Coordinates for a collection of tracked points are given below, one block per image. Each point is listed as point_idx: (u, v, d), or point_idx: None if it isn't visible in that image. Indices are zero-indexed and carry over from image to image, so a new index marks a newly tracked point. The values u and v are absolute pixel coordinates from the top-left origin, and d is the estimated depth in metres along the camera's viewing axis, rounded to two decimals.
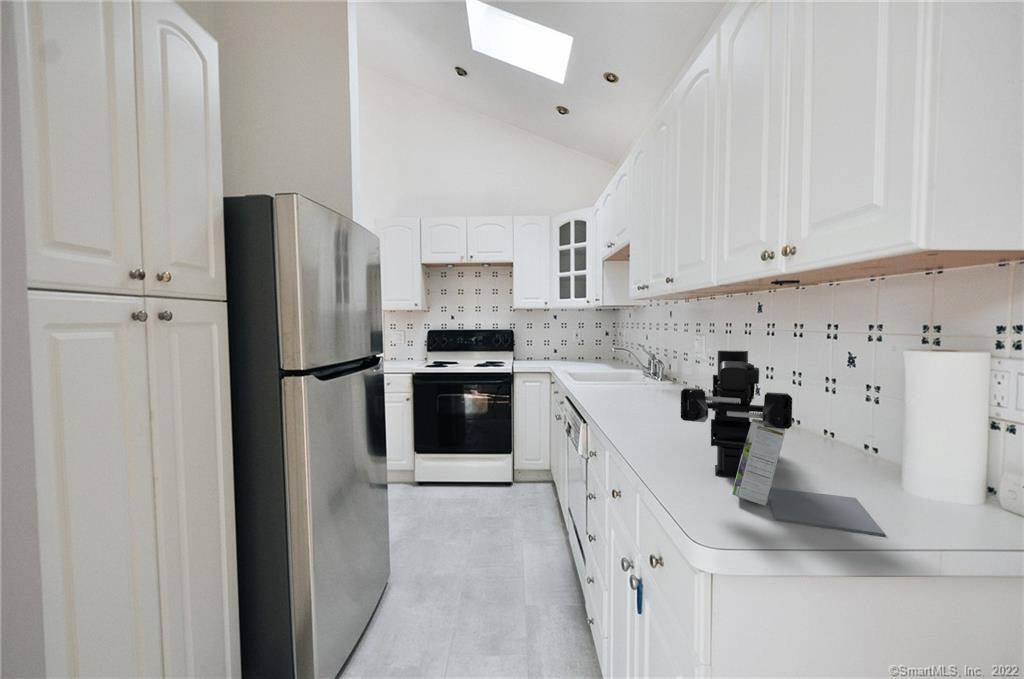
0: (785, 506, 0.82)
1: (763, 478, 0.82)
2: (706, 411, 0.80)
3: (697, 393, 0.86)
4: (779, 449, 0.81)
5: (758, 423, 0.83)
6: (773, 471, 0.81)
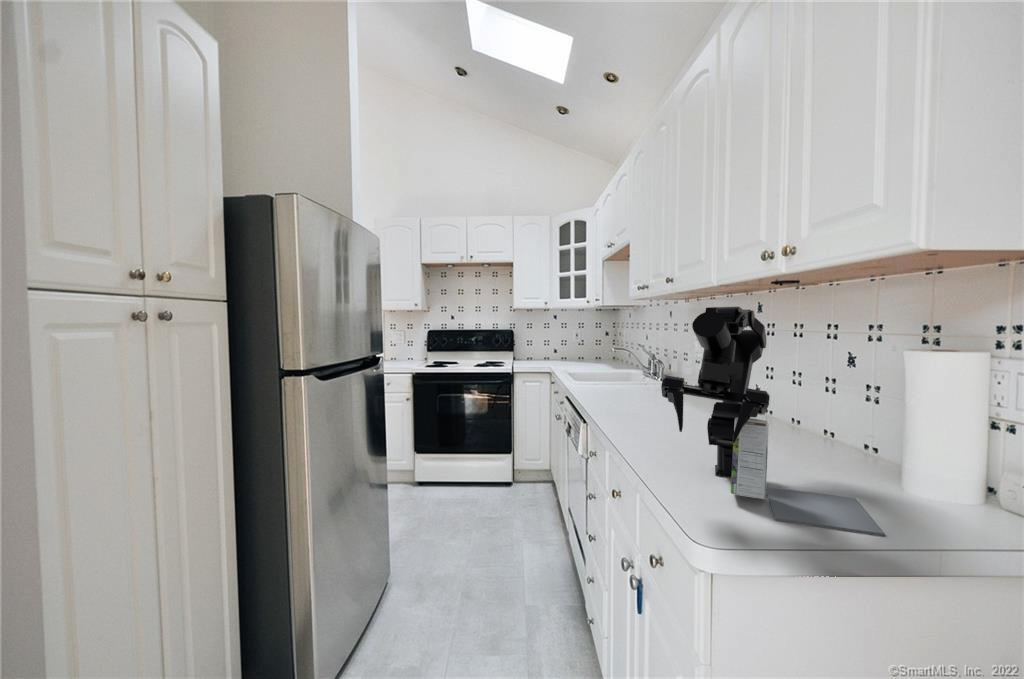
0: (785, 506, 0.82)
1: (756, 471, 0.83)
2: (680, 430, 0.86)
3: (675, 394, 0.87)
4: (765, 440, 0.84)
5: None
6: (764, 462, 0.83)
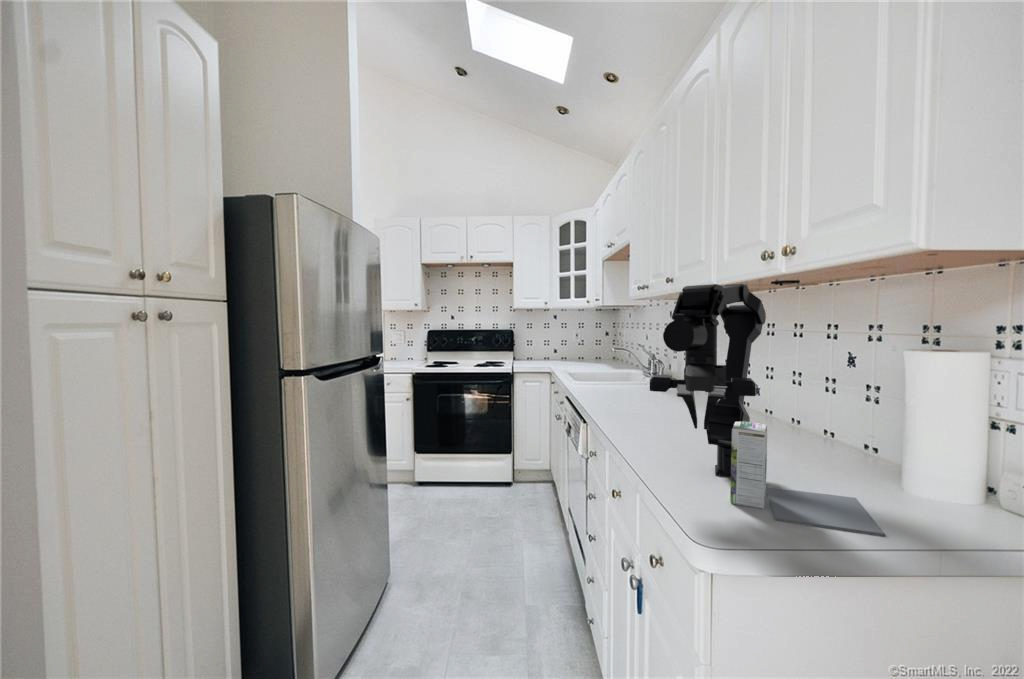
0: (785, 506, 0.82)
1: (755, 483, 0.82)
2: (695, 428, 0.89)
3: (685, 397, 0.87)
4: (764, 451, 0.81)
5: (738, 429, 0.83)
6: (763, 473, 0.81)
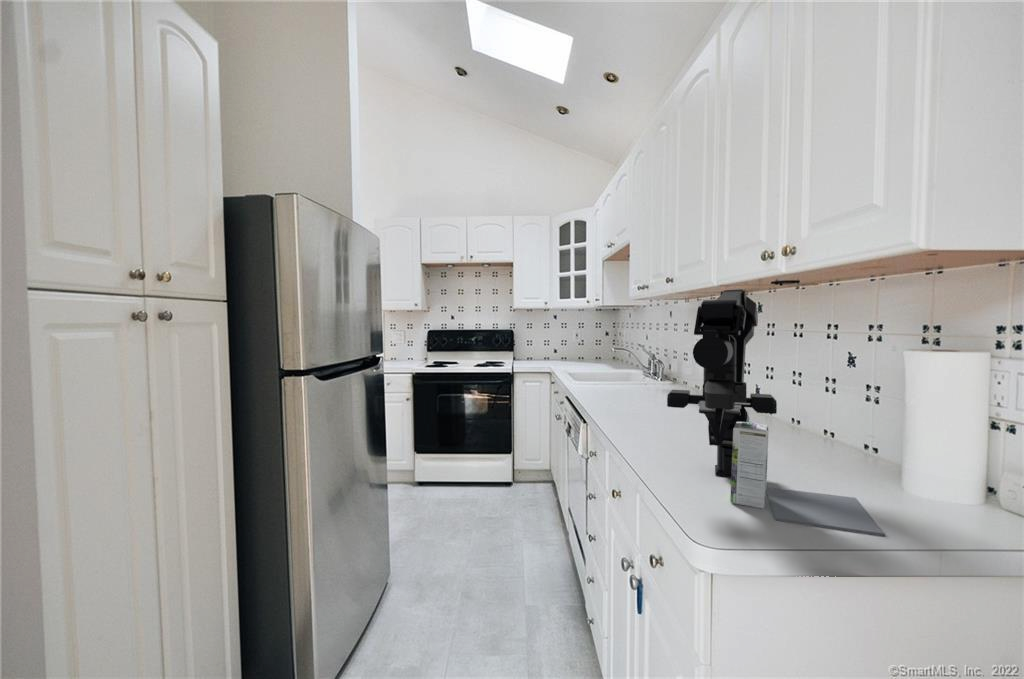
0: (785, 506, 0.82)
1: (756, 482, 0.82)
2: (717, 445, 0.87)
3: (707, 414, 0.86)
4: (765, 451, 0.81)
5: (740, 428, 0.83)
6: (764, 473, 0.81)
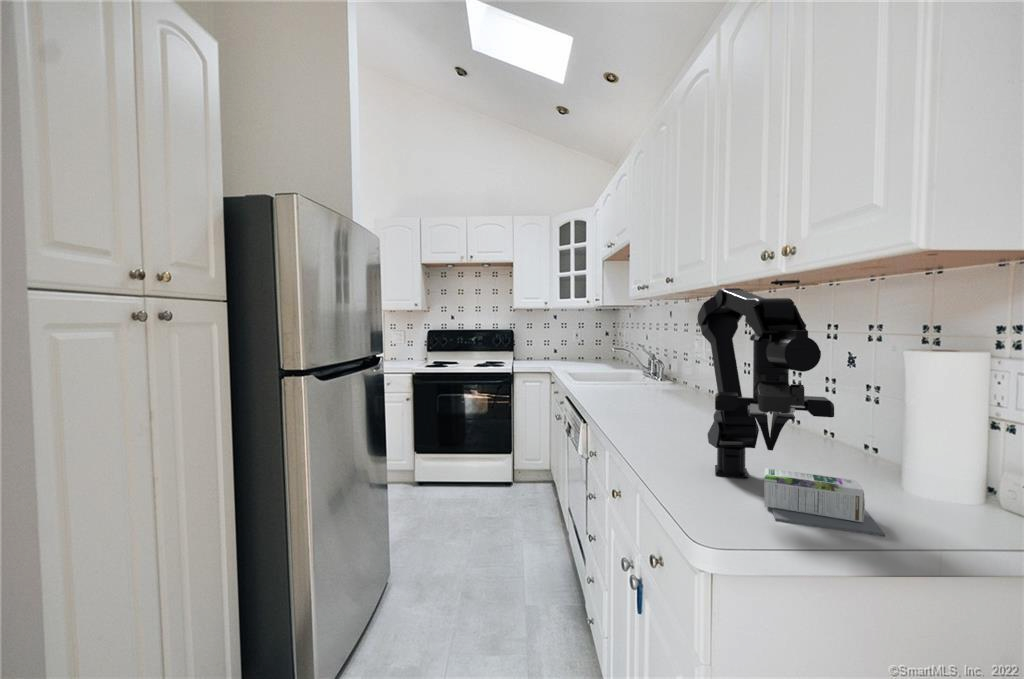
0: None
1: (794, 503, 0.79)
2: (768, 449, 0.84)
3: (759, 417, 0.82)
4: (836, 517, 0.76)
5: (862, 496, 0.75)
6: (807, 512, 0.78)
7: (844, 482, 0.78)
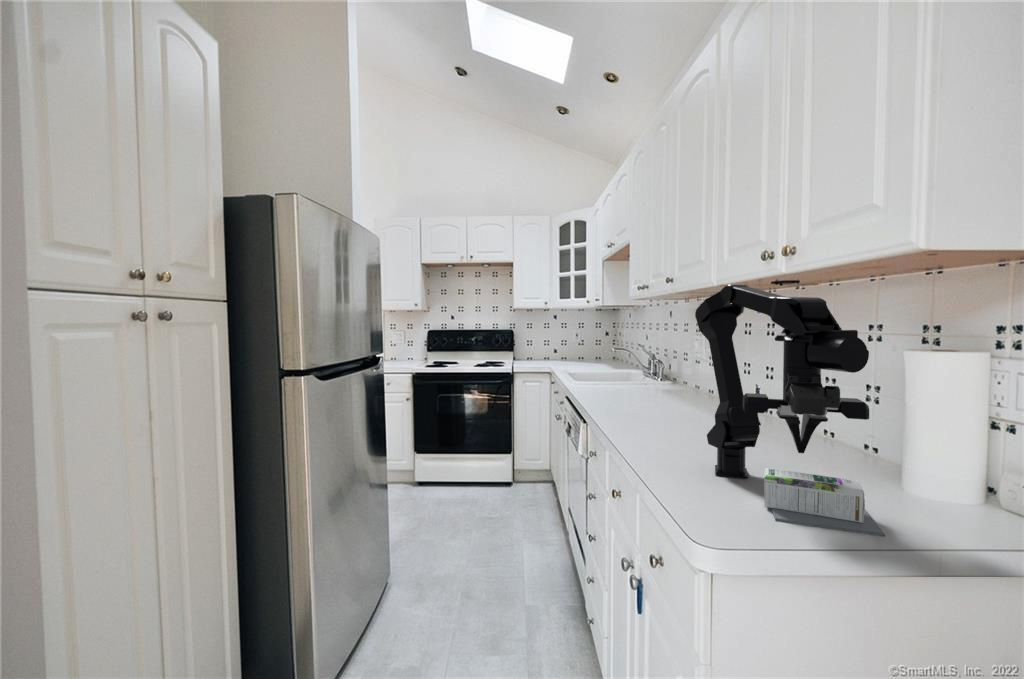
0: None
1: (794, 503, 0.79)
2: (799, 452, 0.82)
3: (790, 419, 0.80)
4: (836, 517, 0.76)
5: (862, 497, 0.74)
6: (807, 512, 0.78)
7: (844, 482, 0.78)
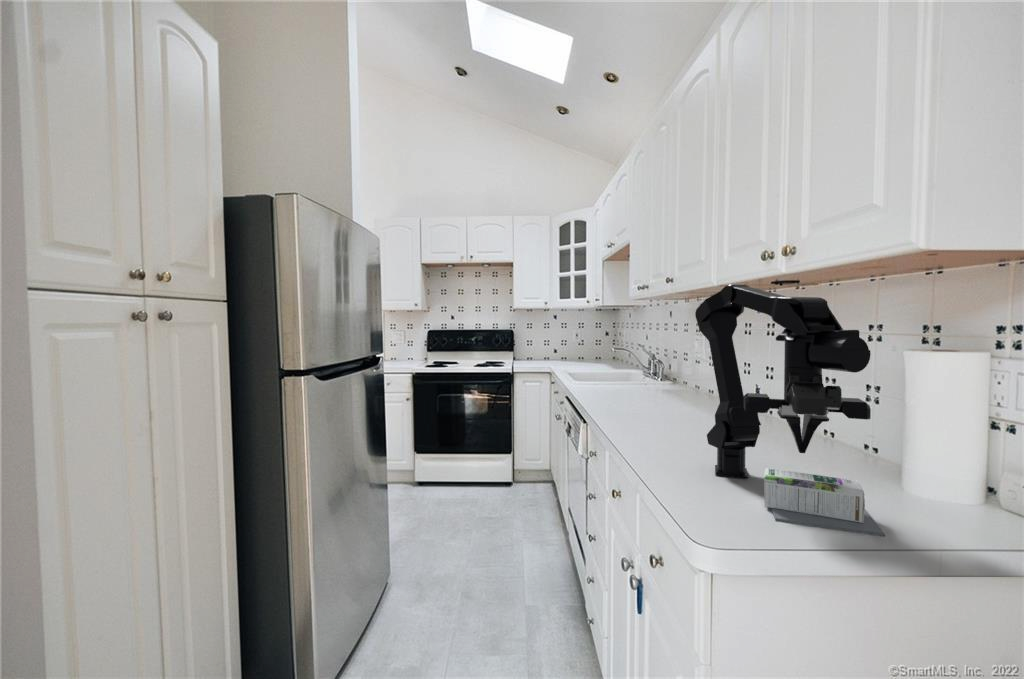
0: None
1: (794, 503, 0.79)
2: (800, 452, 0.82)
3: (791, 419, 0.80)
4: (836, 517, 0.76)
5: (862, 497, 0.74)
6: (807, 512, 0.78)
7: (844, 482, 0.78)
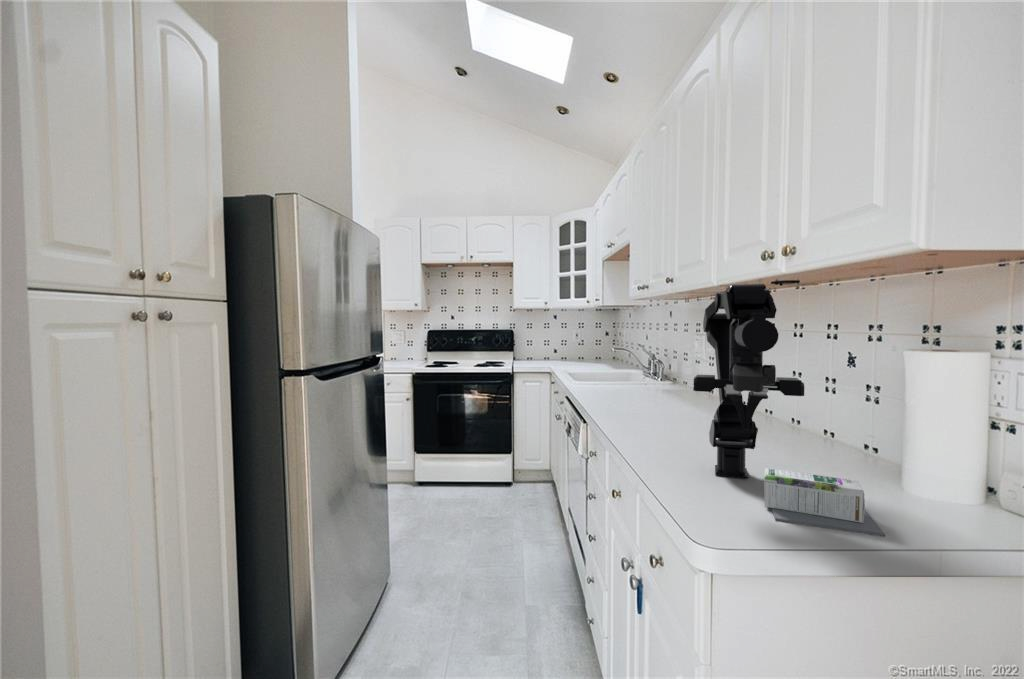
0: None
1: (794, 503, 0.79)
2: (743, 428, 0.88)
3: (734, 397, 0.87)
4: (836, 517, 0.76)
5: (862, 497, 0.74)
6: (807, 512, 0.78)
7: (844, 482, 0.78)
